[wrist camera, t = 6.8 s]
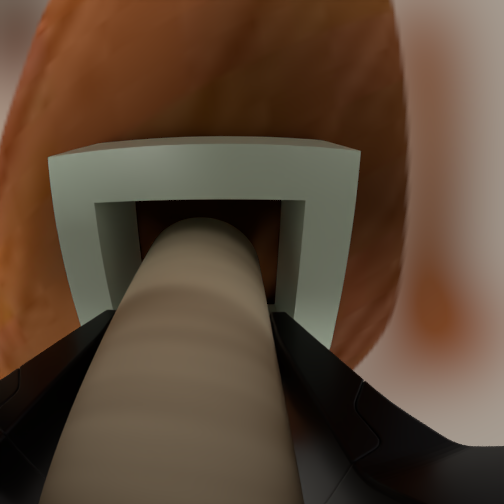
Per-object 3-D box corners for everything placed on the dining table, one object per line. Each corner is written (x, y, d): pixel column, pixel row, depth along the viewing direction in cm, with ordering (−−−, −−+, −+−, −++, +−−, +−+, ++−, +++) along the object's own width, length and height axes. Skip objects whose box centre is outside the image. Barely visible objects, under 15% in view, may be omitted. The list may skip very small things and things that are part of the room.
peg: (258, 318, 12) (292, 564, 4) (154, 317, 12) (96, 550, 3) (261, 217, 10) (347, 519, 2) (141, 218, 10) (-19, 472, 2)
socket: (302, 327, 15) (320, 386, 12) (124, 327, 15) (102, 383, 11) (321, 140, 12) (360, 151, 8) (98, 143, 11) (47, 157, 7)
